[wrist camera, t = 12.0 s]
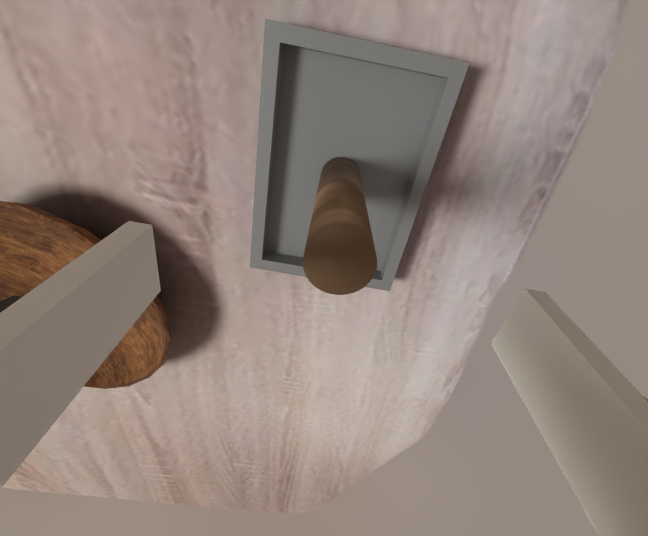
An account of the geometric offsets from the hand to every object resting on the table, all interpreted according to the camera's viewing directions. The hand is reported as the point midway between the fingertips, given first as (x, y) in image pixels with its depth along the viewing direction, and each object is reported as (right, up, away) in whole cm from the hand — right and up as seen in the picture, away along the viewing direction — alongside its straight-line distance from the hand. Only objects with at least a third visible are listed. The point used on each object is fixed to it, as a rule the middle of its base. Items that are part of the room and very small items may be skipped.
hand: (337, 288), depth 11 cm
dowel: (+1, +8, +14) cm, 16 cm away
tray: (+1, +9, +15) cm, 17 cm away
